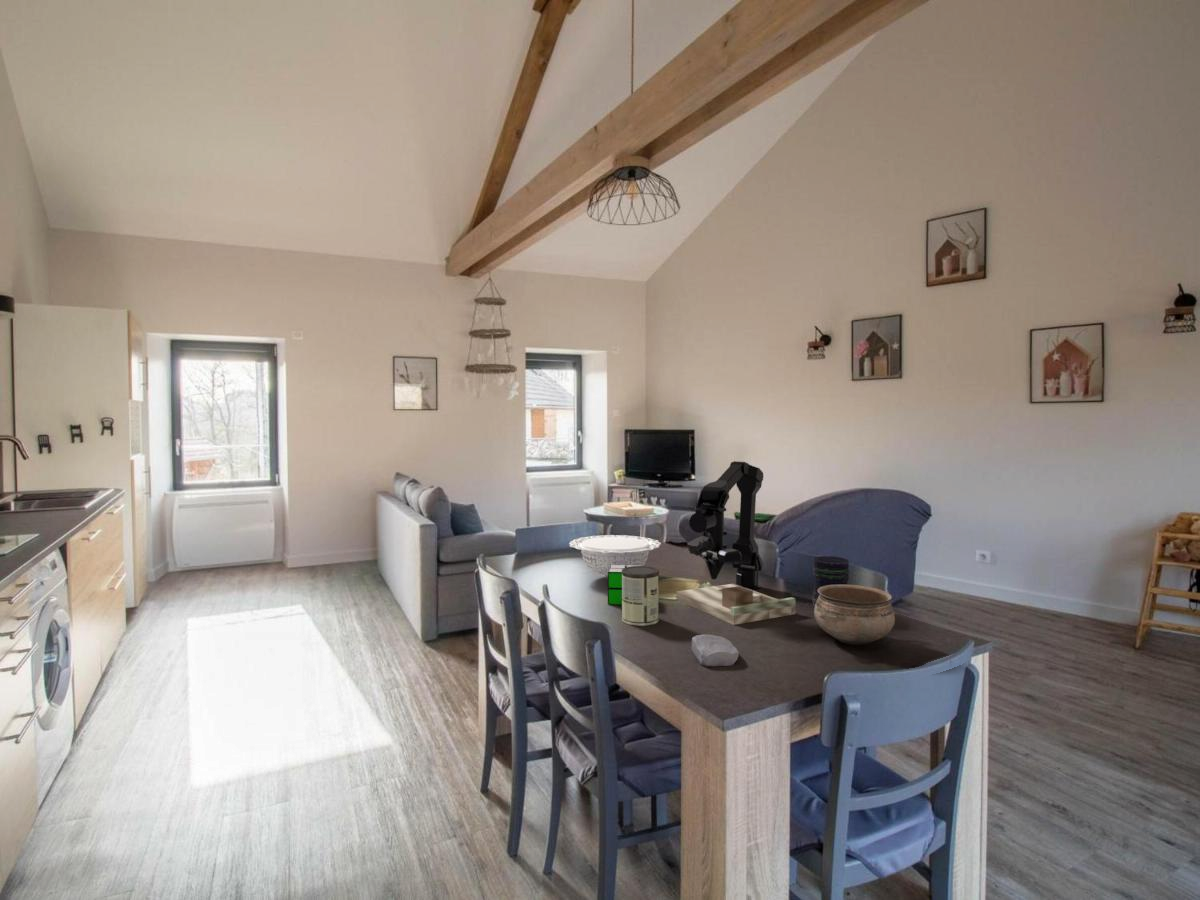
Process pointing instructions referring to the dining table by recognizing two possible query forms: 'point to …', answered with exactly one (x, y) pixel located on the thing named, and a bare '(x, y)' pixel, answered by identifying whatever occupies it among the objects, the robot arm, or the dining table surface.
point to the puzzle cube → (615, 584)
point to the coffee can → (640, 595)
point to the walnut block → (736, 596)
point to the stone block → (714, 650)
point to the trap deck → (759, 610)
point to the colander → (614, 550)
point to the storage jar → (829, 573)
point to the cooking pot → (854, 613)
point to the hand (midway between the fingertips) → (713, 579)
